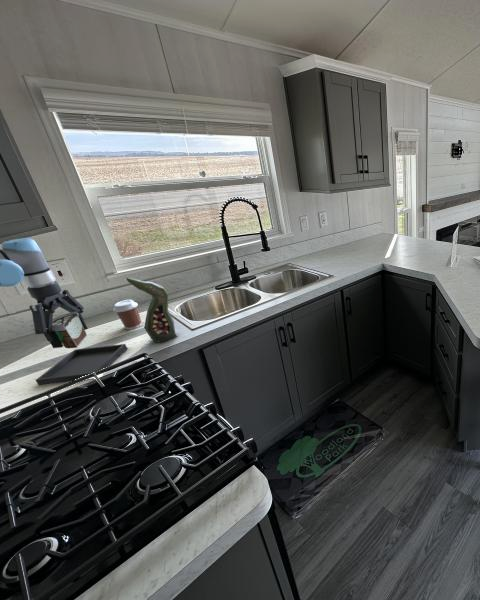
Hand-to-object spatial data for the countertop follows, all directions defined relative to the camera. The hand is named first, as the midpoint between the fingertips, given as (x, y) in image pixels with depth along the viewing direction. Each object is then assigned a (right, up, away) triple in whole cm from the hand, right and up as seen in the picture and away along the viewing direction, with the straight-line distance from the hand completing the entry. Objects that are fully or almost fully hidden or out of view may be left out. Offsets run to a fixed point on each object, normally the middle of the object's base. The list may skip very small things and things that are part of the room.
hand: (71, 337), depth 121 cm
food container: (0, -2, 0) cm, 2 cm away
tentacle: (+19, -2, +23) cm, 30 cm away
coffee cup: (-5, +2, +34) cm, 34 cm away
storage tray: (0, -11, +5) cm, 13 cm away
